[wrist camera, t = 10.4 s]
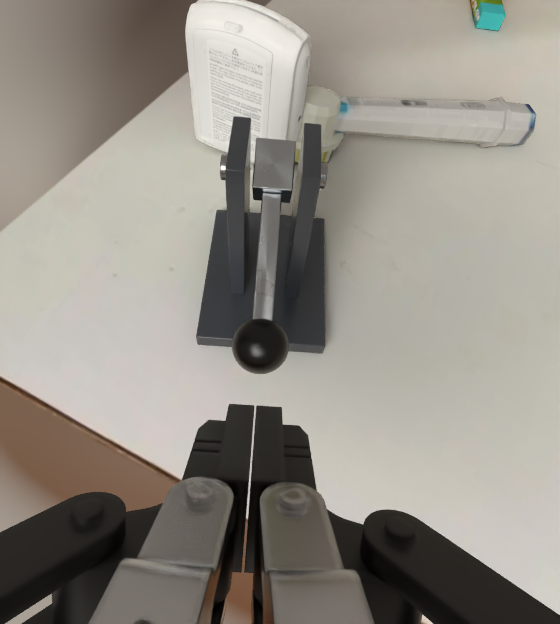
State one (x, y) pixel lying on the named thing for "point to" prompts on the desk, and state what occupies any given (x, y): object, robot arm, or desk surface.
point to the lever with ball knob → (267, 259)
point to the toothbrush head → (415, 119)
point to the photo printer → (245, 71)
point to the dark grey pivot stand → (244, 250)
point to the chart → (488, 13)
